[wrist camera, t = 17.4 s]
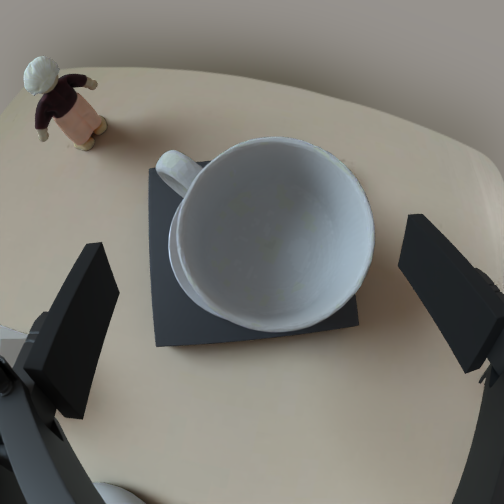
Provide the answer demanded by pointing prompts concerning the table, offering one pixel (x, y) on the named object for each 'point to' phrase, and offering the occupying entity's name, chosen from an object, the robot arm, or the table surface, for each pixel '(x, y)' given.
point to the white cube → (11, 344)
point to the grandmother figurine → (63, 103)
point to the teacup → (271, 232)
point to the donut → (116, 494)
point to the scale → (182, 306)
